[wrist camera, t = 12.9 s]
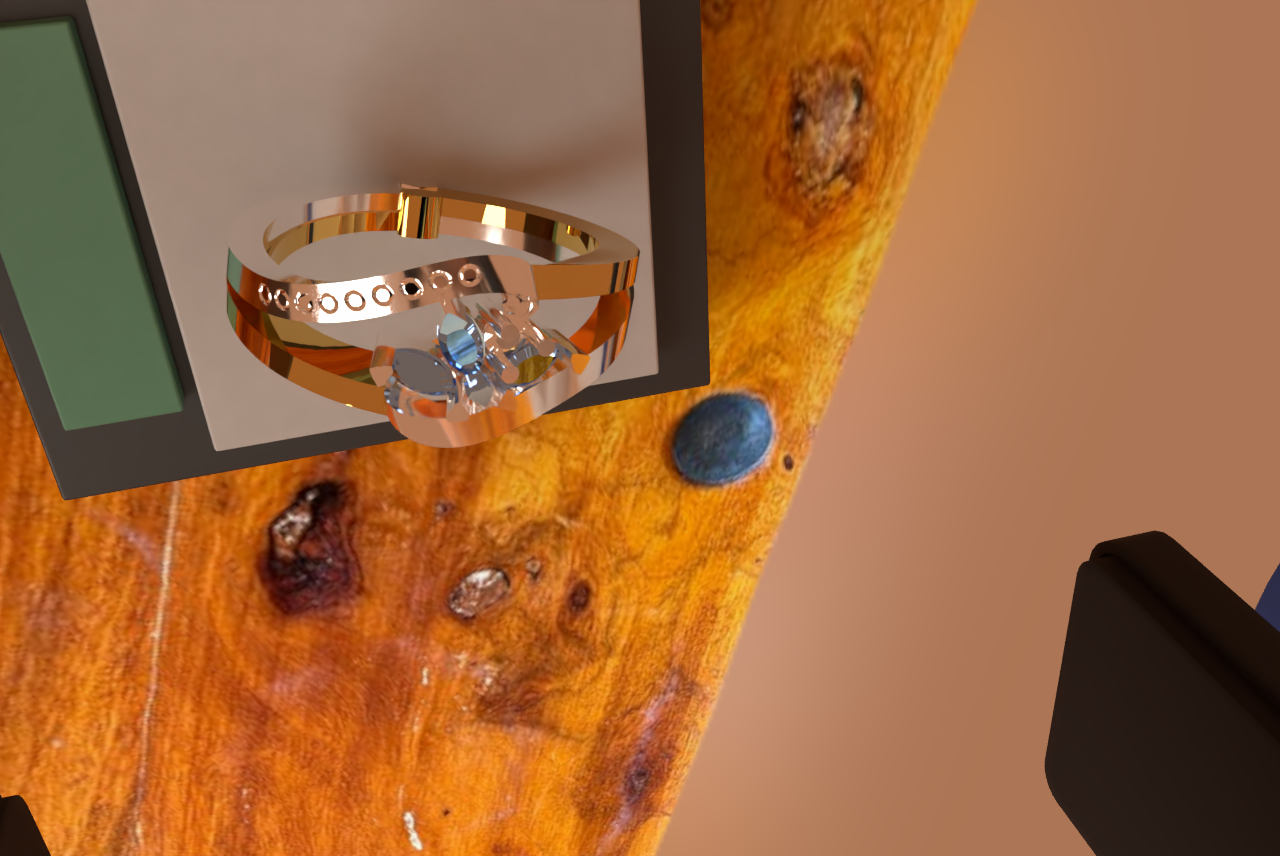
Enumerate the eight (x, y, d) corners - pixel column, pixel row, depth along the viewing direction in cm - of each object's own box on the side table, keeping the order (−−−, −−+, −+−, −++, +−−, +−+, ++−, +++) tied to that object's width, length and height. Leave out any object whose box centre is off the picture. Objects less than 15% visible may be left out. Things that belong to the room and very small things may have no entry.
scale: (655, -169, 25) (710, -158, 22) (676, 335, 31) (721, 400, 28) (-110, -108, 22) (-177, -86, 19) (82, 435, 28) (57, 522, 25)
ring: (594, 142, 24) (717, 291, 17) (569, 287, 25) (674, 477, 18) (235, 99, 22) (214, 250, 15) (230, 260, 23) (210, 465, 16)
